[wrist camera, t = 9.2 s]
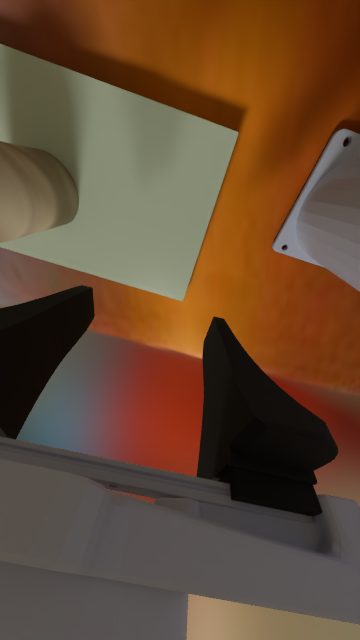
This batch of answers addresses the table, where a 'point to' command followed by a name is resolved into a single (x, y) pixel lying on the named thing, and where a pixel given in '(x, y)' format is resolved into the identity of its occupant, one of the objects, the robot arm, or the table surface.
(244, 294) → the table surface
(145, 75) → the table surface
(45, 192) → the maple cylinder
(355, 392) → the table surface
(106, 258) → the green board
